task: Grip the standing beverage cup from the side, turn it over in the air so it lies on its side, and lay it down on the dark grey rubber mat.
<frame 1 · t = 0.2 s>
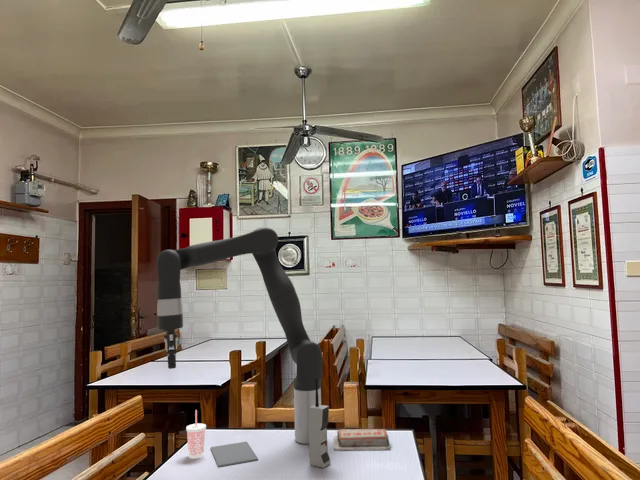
hand: (171, 366, 140), 29 cm above the table, tool pointing down, fingers open, 8 cm apart
beverage cup: (196, 456, 142), on the table
packaged product: (361, 446, 148), on the table
vintage mobile phone: (320, 465, 133), on the table
mat: (233, 454, 143), on the table
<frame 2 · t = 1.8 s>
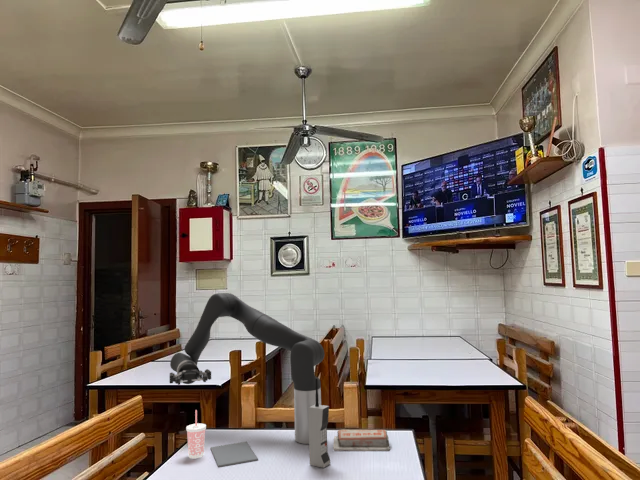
hand: (192, 380, 154), 21 cm above the table, tool horizontal, fingers open, 8 cm apart
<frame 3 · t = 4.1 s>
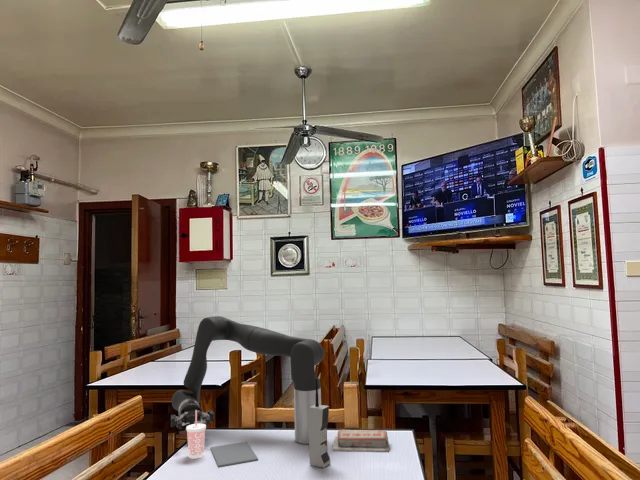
hand: (194, 424, 148), 8 cm above the table, tool horizontal, fingers open, 8 cm apart
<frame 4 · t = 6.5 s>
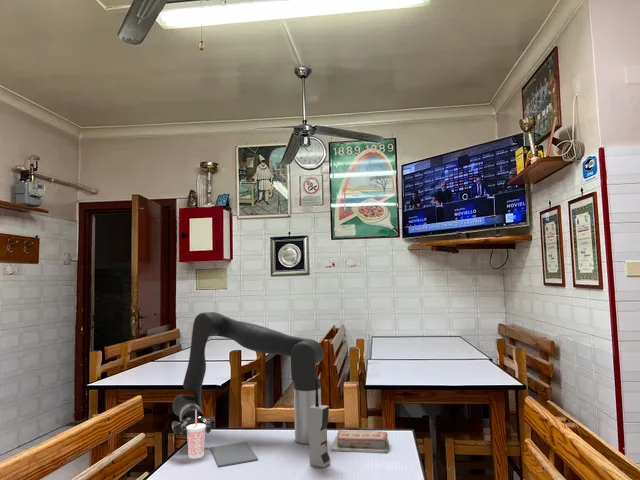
hand: (197, 431, 141), 8 cm above the table, tool horizontal, fingers closed on beverage cup, 6 cm apart
beverage cup: (196, 456, 142), on the table, touching gripper
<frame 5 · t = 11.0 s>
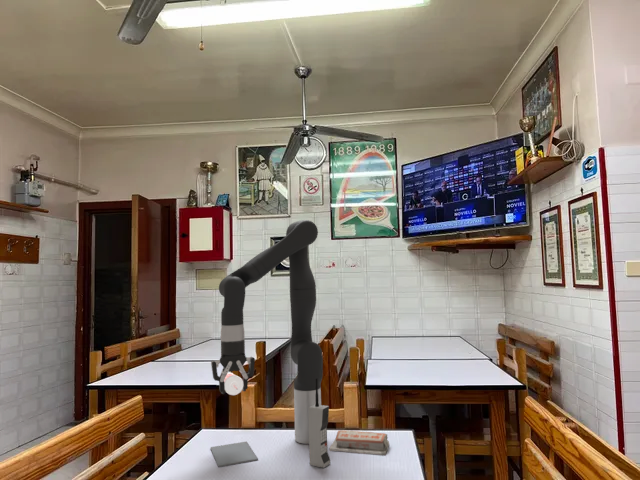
hand: (233, 391, 144), 19 cm above the table, tool pointing down, fingers closed on beverage cup, 6 cm apart
beverage cup: (229, 379, 152), point 22 cm above the table, touching gripper
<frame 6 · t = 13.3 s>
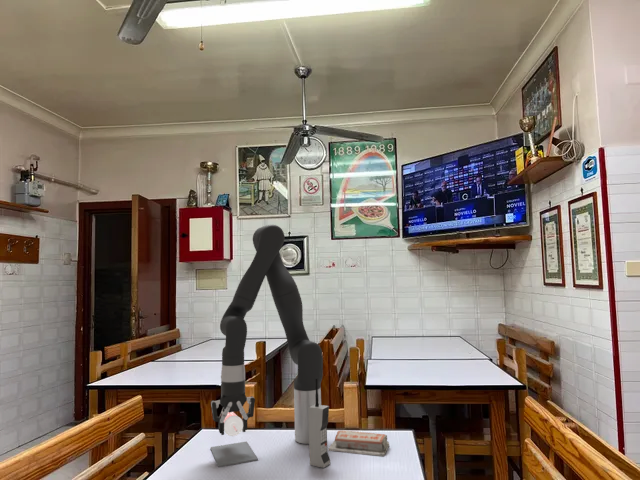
hand: (233, 432, 143), 7 cm above the table, tool pointing down, fingers closed on beverage cup, 6 cm apart
beverage cup: (228, 417, 150), point 9 cm above the table, touching gripper
when the fingers open (3 cm above the table, at t = 15.2 s): beverage cup drops 1 cm, resting on mat.
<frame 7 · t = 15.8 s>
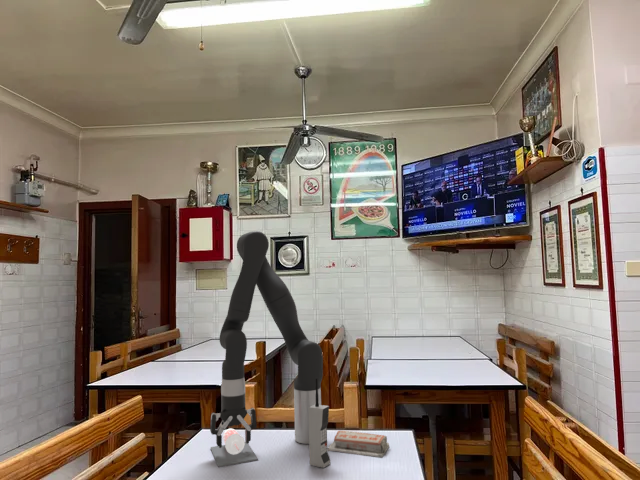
hand: (233, 444, 142), 3 cm above the table, tool pointing down, fingers open, 8 cm apart
beverage cup: (229, 435, 150), point 3 cm above the table, touching mat
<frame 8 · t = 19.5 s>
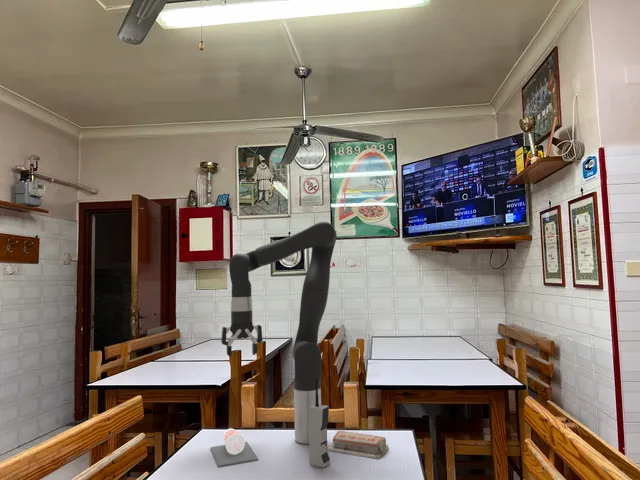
hand: (242, 355, 160), 28 cm above the table, tool pointing down, fingers open, 8 cm apart
at the end: beverage cup tilted 90°; beverage cup touching mat; beverage cup inside the target area on the mat (7.5 cm from its centre), point 3.5 cm above the mat's base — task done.
